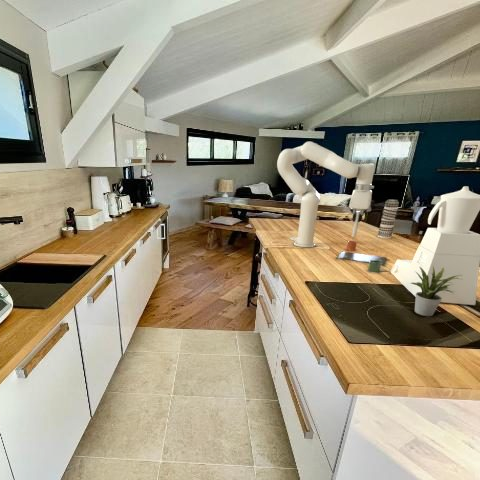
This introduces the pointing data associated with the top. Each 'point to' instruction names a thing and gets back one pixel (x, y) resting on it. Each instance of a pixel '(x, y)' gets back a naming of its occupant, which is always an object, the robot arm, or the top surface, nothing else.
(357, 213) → the stylus
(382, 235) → the tower model
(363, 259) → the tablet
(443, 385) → the top surface
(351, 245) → the reddish-brown cube
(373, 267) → the green cube
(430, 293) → the house plant
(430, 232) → the blender
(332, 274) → the top surface
